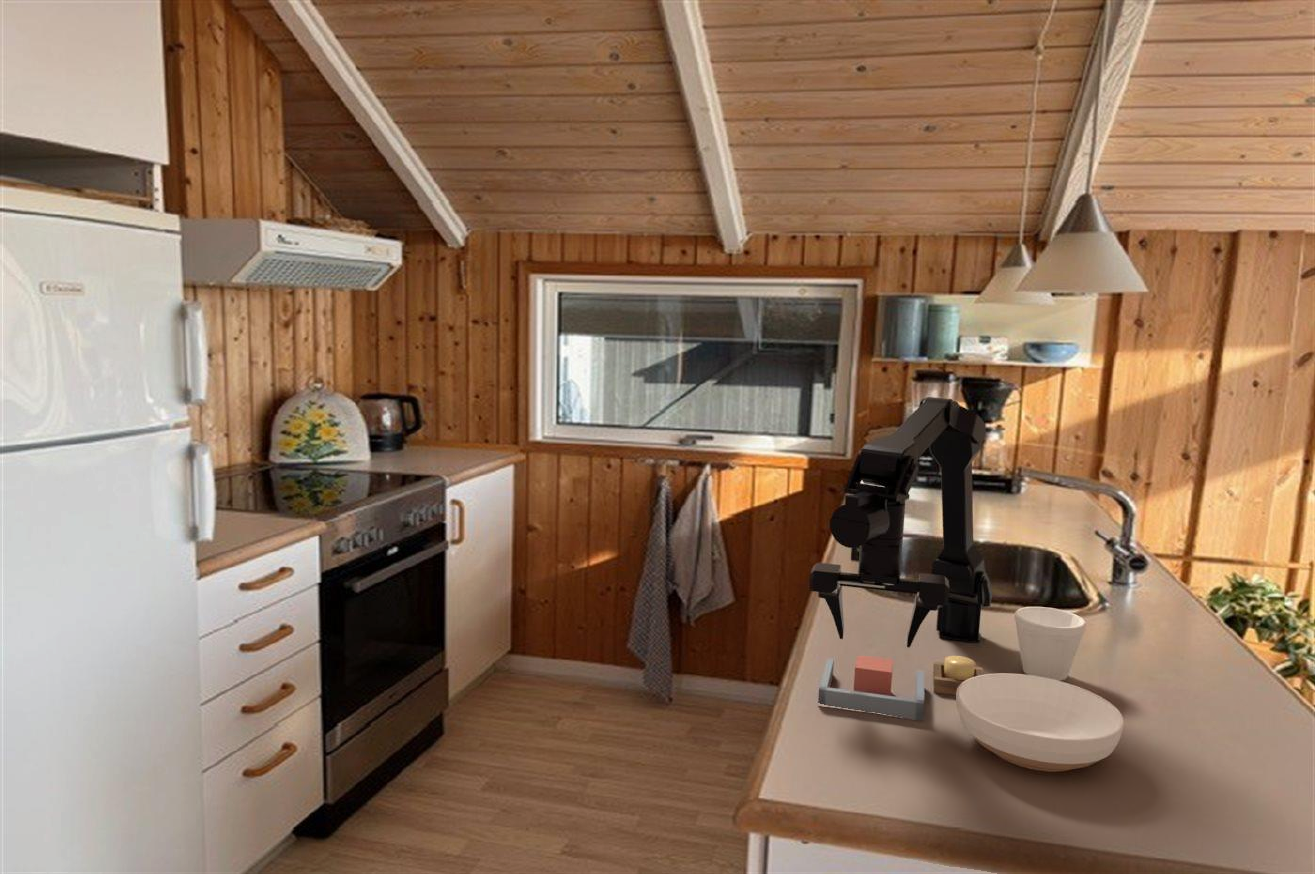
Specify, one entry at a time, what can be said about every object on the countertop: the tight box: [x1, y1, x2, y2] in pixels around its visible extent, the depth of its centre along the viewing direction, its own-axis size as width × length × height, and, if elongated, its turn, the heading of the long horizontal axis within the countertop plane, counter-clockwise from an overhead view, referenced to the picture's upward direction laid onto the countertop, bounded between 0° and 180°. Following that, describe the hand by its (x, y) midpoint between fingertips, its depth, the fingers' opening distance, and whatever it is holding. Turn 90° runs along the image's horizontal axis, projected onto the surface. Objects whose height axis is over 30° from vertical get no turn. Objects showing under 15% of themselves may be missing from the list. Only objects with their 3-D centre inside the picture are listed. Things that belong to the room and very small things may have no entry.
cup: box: [1014, 606, 1087, 682], centre depth 140 cm, size 10×10×9 cm
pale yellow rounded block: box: [944, 655, 976, 680], centre depth 135 cm, size 4×4×3 cm
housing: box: [932, 661, 985, 696], centre depth 136 cm, size 7×7×2 cm
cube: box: [853, 654, 894, 696], centre depth 131 cm, size 5×5×5 cm
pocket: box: [817, 657, 925, 722], centre depth 131 cm, size 14×12×2 cm
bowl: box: [955, 672, 1125, 773], centre depth 116 cm, size 20×20×6 cm
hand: (874, 642), depth 130 cm, fingers open, 9 cm apart
